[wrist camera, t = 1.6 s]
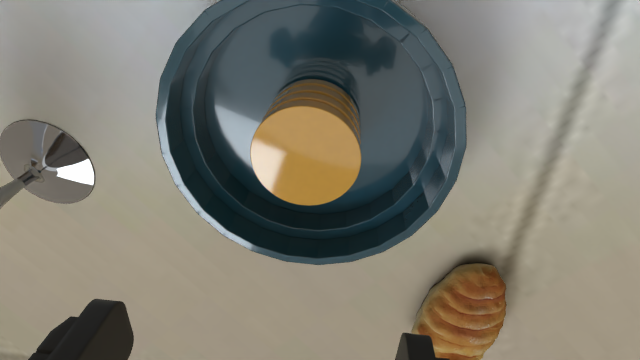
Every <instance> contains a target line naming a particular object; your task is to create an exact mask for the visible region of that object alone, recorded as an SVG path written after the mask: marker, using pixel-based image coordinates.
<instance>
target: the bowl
mask: <svg viewBox="0 0 640 360" xmlns="http://www.w3.org/2000/svg"><path fill="white" fill-rule="evenodd" d="M307 79H318V80H324V81H327V82H330V83H332V84H335V85H336V86H338V87H340V88H341V89H342V90H344V91H345V92H346V93H347V94H348V95H349V96H350V97H351V99H352V100H353V101H354V103H355V105H356V107H357V109H358V112H359V116H360V125H361V167H360V171H359V174H358V176H357V178H356V180H355V182H354V183H353V185H352V186H351V187H350V188H349V189H348V190H347V192H345V193H344V194H343V195H342V196H340V197H338V198H337V199H335V200H333V201H330V202H328V203H324V204H320V205H310V206H309V205H298V204H294V203H290V202H287V201H285V200H282V199H280V198H278V197H277V196H275V195H274V194H272V193H271V192H270V191H269V190H267V189H266V188H265V187H264V186H263V184H262V183H261V182H260V181H259V179H258V178H257V176H256V174H255V172H254V169H253V167H252V163H251V157H250V147H251V142H252V139H253V136H254V134H255V132H256V130H257V128H258V126H259V124H260V123H261V121H262V119H263V117H264V116H265V114H266V112H267V110H268V109H269V107H270V105H271V103H272V101H273V100H274V98H275V97H276V96H277V94H278V93H279V92H280V91H281V90H283V89H284V88H285V87H287V86H288V85H290V84H292V83H295V82H297V81H301V80H307ZM465 105H466V104H465V101H464V98H463V95H462V92H461V89H460V86H459V83H458V79H457V76H456V73H455V70H454V67H453V65H452V63H451V62H450V60H449V59H448V57H447V56H446V55H445V53H444V52H443V50H442V49H441V47H440V46H439V45H438V43H437V42H436V40H435V39H434V37H433V36H432V35H431V33H430V32H429V30H428V29H427V28H426V27H425V26H424V25H423V24H422V23H421V22H420V20H419V19H418V18H417V17H416V16H415V15H413V14H412V13H411V12H410V11H408V10H407V9H406V8H404V7H403V6H402V5H401V4H399V3H398V2H397V1H396V0H221V1H219V2H217V3H216V4H214V5H212V6H210V7H209V8H207V9H206V10H205V11H203V13H202V14H201V15H200V16H199V17H198V18H197V19H196V20H195V21H194V23H193V24H192V25H191V26H190V27H189V28H188V29H187V30H186V32H185V33H184V34H183V35H182V36H181V37H180V38H179V39H178V41H177V42H176V44H175V46H174V48H173V50H172V53H171V55H170V57H169V59H168V62H167V64H166V66H165V68H164V71H163V73H162V75H161V77H160V83H159V91H158V100H157V108H156V122H157V129H158V135H159V141H160V147H161V152H162V156H163V158H164V160H165V162H166V165H167V167H168V169H169V171H170V174H171V176H172V178H173V180H174V183H175V185H176V186H177V188H178V189H179V190H180V192H181V193H182V194H183V195H184V197H185V198H186V199H187V201H188V202H189V203H190V205H191V206H192V207H193V209H194V210H195V211H196V212H197V213H198V214H199V215H200V216H201V217H202V218H203V219H204V220H206V221H207V222H208V223H209V224H210V225H212V226H213V227H214V228H215V229H216V230H218V231H219V232H220V233H221V234H222V235H224V236H225V237H227V238H229V239H231V240H232V241H234V242H236V243H238V244H240V245H242V246H244V247H245V248H247V249H249V250H251V251H254V252H256V253H259V254H263V255H266V256H269V257H272V258H276V259H279V260H282V261H286V262H295V263H304V264H314V265H324V264H334V263H345V262H353V261H356V260H359V259H362V258H365V257H369V256H372V255H375V254H378V253H382V252H384V251H386V250H387V249H389V248H391V247H393V246H394V245H396V244H398V243H400V242H401V241H403V240H405V239H407V238H408V237H410V236H412V235H413V234H414V233H415V232H416V231H417V230H418V229H419V228H420V227H421V226H423V225H424V224H425V223H426V222H427V221H428V220H429V219H430V218H431V217H432V216H433V215H434V214H435V213H436V212H437V211H438V210H439V208H440V206H441V205H442V203H443V202H444V200H445V198H446V197H447V195H448V193H449V192H450V190H451V189H452V187H453V185H454V184H455V182H456V180H457V177H458V173H459V170H460V166H461V163H462V159H463V156H464V152H465V149H466V106H465Z"/></svg>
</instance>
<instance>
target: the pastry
mask: <svg viewBox="0 0 640 360" xmlns="http://www.w3.org/2000/svg"><path fill="white" fill-rule="evenodd" d="M505 290H506V285H505V283H504V281H503V280H502V279H501V277H500V275H499V273H498V271H497V269H496V268H495V267H494V266H493V265H487V264H481V263H475V264H466V265H461V266H458V267H457V268H455V269H453V270H452V272H451V273H448V274H447V275H446V277H445V278H444V279H443V280H442V281H441V282H440V283H438V284H435V285H434V286H433V287H432V288H431V289H430V291H429V294H428V295H427V296H426V298H425V300H424V302H423V303H422V306H421V308H420V309H419V311H418V313H417V316H416V321H415V323H414V325H413V328H412V334H420V335H429V336H430V337H431V339H432V342H433V347H434V352H435V357H438V358H447V359H450V360H480V359H481V358H483V354H484V352H485V351H486V350H487V349H488V348H489V347H490V346H491V345H492V344H493V343H494V341H495V339H496V338H497V337H498V334H499V331H500V329H501V328H502V326H503V321H504V317H505V315H506V311H505V309H506V301H505Z"/></svg>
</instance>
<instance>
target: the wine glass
mask: <svg viewBox="0 0 640 360" xmlns="http://www.w3.org/2000/svg"><path fill="white" fill-rule="evenodd" d="M0 156H1V159H2V161H3V164H4V165H5V167H6V169H7V171H8V172H9V173H10V174H11V176H12V177H13V178H14V179H15V180H13V181H11V182H10V183H8V184H6V185H4V186H2V187H0V209H1V208H2V207H3V206H4V205H5V204H6V203H7V202H8V201H9V200H10V199H11V198H12V197H13V196H14V195H16V194H17V193H18V192H19V191H20V190H22V189H23V188H25V189H26V190H28V191H29V192H31V193H32V194H34V195H36V196H38V197H40V198H42V199H45V200H47V201H51V202H55V203H63V204H66V203H74V202H78V201H81V200H83V199H84V198H86V197H87V196H88V195H89V194H90V193H91V191H92V189H93V187H94V182H95V173H94V169H93V165H92V163H91V161H90V159H89V157H88V155H87V154H86V152H85V151H84V149H83V148H82V147H81V146H80V145H79V144H78V143H77V142H76V141H75V140H74V139H73V138H72V137H71V136H69V135H68V134H67V133H65V132H64V131H62V130H60V129H59V128H57V127H55V126H52V125H50V124H47V123H44V122H40V121H35V120H21V121H17V122H14V123H12V124H11V125H9V126H8V127H7V128H6V129H5V130H4V131H3V133H2V135H1V136H0Z"/></svg>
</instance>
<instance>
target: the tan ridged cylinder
mask: <svg viewBox="0 0 640 360" xmlns="http://www.w3.org/2000/svg"><path fill="white" fill-rule="evenodd" d="M250 157H251V163H252V167H253V169H254V172H255V174H256V176H257V178H258V179H259V181H260V182H261V183H262V184H263V186H264V187H265V188H266V189H267V190H269V191H270V192H271V193H272V194H274V195H275V196H277V197H278V198H280V199H282V200H285V201H287V202H290V203H294V204H298V205H309V206H310V205H320V204H324V203H328V202H330V201H333V200H335V199H337V198H338V197H340V196H342V195H343V194H344V193H345V192H347V190H348V189H349V188H350V187H351V186H352V185H353V183H354V182H355V180H356V178H357V176H358V174H359V171H360V167H361V125H360V116H359V112H358V109H357V107H356V105H355V103H354V101H353V100H352V99H351V97H350V96H349V95H348V94H347V93H346V92H345V91H344V90H342V89H341V88H340V87H338V86H336V85H335V84H332V83H330V82H327V81H324V80H318V79H307V80H301V81H297V82H295V83H292V84H290V85H288V86H287V87H285V88H284V89H283V90H281V91H280V92H279V93H278V94H277V96H276V97H275V98H274V100H273V101H272V103H271V105H270V107H269V109H268V110H267V112H266V114H265V116H264V117H263V119H262V121H261V123H260V124H259V126H258V128H257V130H256V132H255V134H254V136H253V139H252V142H251V147H250Z"/></svg>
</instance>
